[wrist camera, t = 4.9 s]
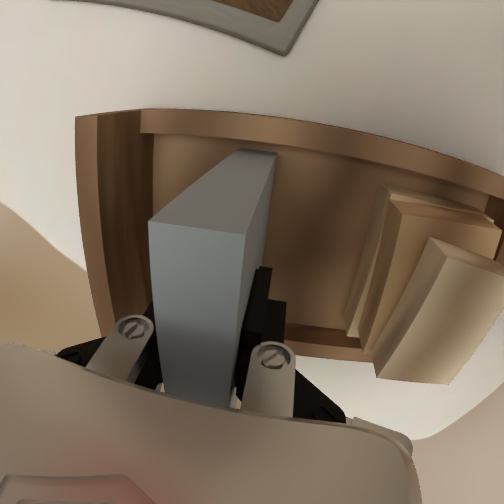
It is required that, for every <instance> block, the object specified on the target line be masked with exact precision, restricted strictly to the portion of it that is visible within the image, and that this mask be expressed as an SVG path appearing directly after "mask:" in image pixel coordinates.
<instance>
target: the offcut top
mask: <svg viewBox="0 0 504 504" xmlns="http://www.w3.org/2000/svg"><path fill="white" fill-rule="evenodd" d="M503 308H504V267H503V266H502V265H501V264H500V263H499V262H497V261H494V260H492V259H489V258H487V257H484V256H482V255H479V254H476V253H474V252H471V251H468V250H466V249H463V248H460V247H457V246H455V245H452V244H449V243H446V242H443V241H441V240H438V239H435V238H432V237H429V239H428V241H427V244H426V246H425V248H424V250H423V253H422V255H421V257H420V259H419V261H418V264H417V266H416V268H415V270H414V272H413V274H412V276H411V278H410V280H409V282H408V284H407V286H406V288H405V290H404V292H403V294H402V296H401V298H400V300H399V302H398V304H397V306H396V307H395V309H394V311H393V313H392V315H391V317H390V318H389V320H388V322H387V324H386V326H385V327H384V329H383V331H382V332H381V334H380V336H379V338H378V339H377V341H376V343H375V344H374V346H373V348H372V349H371V355H372V359H373V364H374V368H375V373H376V378H382V379H391V380H399V381H409V382H419V383H431V384H444V385H449V384H450V382H451V381H452V380H453V379H454V377H455V376H456V375H457V374H458V373H459V371H460V370H461V369H462V367H463V366H464V365H465V364H466V362H467V361H468V360H469V358H470V357H471V356H472V354H473V353H474V351H475V350H476V349H477V347H478V346H479V344H480V343H481V342H482V340H483V339H484V337H485V336H486V334H487V333H488V331H489V330H490V328H491V327H492V325H493V324H494V322H495V321H496V319H497V317H498V316H499V314H500V313H501V311H502V309H503Z"/></svg>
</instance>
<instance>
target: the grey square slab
mask: <svg viewBox="0 0 504 504" xmlns="http://www.w3.org/2000/svg"><path fill="white" fill-rule="evenodd" d="M276 158H277V152H271V151H263V150H255V149H246V148H238V149H237V150H236V151H234V152H233V153H232V154H230V155H229V156H228V157H226V158H225V159H224V160H222V161H221V162H220V163H219V164H217V165H216V166H215V167H213V168H212V169H211V170H209V171H208V172H207V173H206V174H204V175H203V176H202V177H201V178H199V179H198V180H197V181H196V182H194V183H193V184H192V185H191V186H189V187H188V188H187V189H186V190H184V191H183V192H182V193H181V194H179V195H178V196H177V197H176V198H175V199H173V200H172V201H171V202H170V203H169V204H167V205H166V206H165V207H164V208H163V209H162V210H160V211H159V212H158V213H157V214H156V215H155V216H153V217H152V218H151V219H150V220H149V221H148V232H149V253H150V269H151V283H152V295H153V306H154V316H155V325H156V334H157V342H158V350H159V357H160V364H161V371H162V378H163V384H164V389H165V393H168V394H171V395H175V396H179V397H183V398H188V399H192V400H196V401H201V402H205V403H210V404H215V405H219V406H224V407H230V408H235V406H236V401H237V396H236V388H235V378H236V369H237V360H238V351H239V342H240V334H241V328H242V323H243V319H244V315H245V311H246V307H247V303H248V299H249V295H250V291H251V287H252V283H253V278H254V274H255V270H256V269H259V267H260V266H262V263H263V255H264V248H265V241H266V233H267V226H268V219H269V211H270V204H271V196H272V189H273V181H274V173H275V166H276Z"/></svg>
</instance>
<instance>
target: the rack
mask: <svg viewBox="0 0 504 504" xmlns="http://www.w3.org/2000/svg"><path fill="white" fill-rule="evenodd" d="M238 148H246V149H255V150H263V151H271V152H277V158H276V166H275V173H274V181H273V189H272V196H271V204H270V211H269V219H268V226H267V233H266V241H265V248H264V255H263V263H262V266H265V267H271V268H273V270H272V276H271V283H270V289H269V296H268V299H272V300H279V301H285V302H287V306H286V320H285V333H284V345H286V346H288V347H289V348H290V349H291V350H292V351H293V353H294V354H295V355H300V356H308V357H317V358H326V359H336V360H347V361H358V362H372V363H373V359H372V355H371V354H363V352H362V347H361V342H360V338H359V337H349V336H347V334H346V328H345V323H344V317H343V313H344V310H345V307H346V304H347V301H348V298H349V295H350V292H351V289H352V285H353V282H354V279H355V276H356V272H357V269H358V266H359V262H360V259H361V255H362V252H363V248H364V245H365V241H366V237H367V234H368V230H369V226H370V222H371V218H372V214H373V210H374V206H375V202H376V198H377V193H378V189H379V184H380V183H385V184H389V185H393V186H398V187H402V188H406V189H410V190H414V191H418V192H422V193H426V194H430V195H434V196H438V197H441V198H445V199H449V200H452V201H456V202H459V203H463V204H466V205H469V206H473V207H476V208H478V209H479V210H480V211H482V212H483V213H485V214H486V215H487V216H489V217H490V218H491V219H493V220H494V223H493V224H495V225H496V226H497V227H498V228H500V229H501V230H502V233H501V237H500V240H499V243H498V246H497V249H496V253H495V256H494V258H493V260H494V261H497V262H499V263H500V264H501V265H502V266H503V267H504V177H503V176H501V175H499V174H497V173H494V172H492V171H489V170H487V169H484V168H481V167H479V166H476V165H473V164H471V163H468V162H465V161H462V160H460V159H457V158H454V157H451V156H448V155H445V154H442V153H439V152H435V151H432V150H429V149H426V148H422V147H419V146H416V145H412V144H409V143H405V142H401V141H398V140H394V139H390V138H386V137H382V136H378V135H374V134H369V133H365V132H361V131H356V130H351V129H347V128H342V127H337V126H331V125H326V124H320V123H315V122H309V121H303V120H296V119H289V118H282V117H275V116H267V115H258V114H248V113H238V112H226V111H212V110H194V109H135V110H124V111H115V112H106V113H98V114H91V115H84V116H77V117H75V160H76V181H77V195H78V206H79V216H80V225H81V233H82V241H83V248H84V254H85V260H86V266H87V272H88V278H89V283H90V288H91V293H92V298H93V303H94V307H95V311H96V316H97V320H98V324H99V328H100V332H101V336H102V337H106V336H107V335H108V334H109V332H110V331H111V329H112V328H113V327H114V325H115V324H116V323H117V322H118V321H119V320H120V319H121V318H123V317H126V316H129V315H141V316H142V315H143V314H144V312H145V311H146V309H147V308H148V306H149V305H150V303H151V302H152V300H153V295H152V283H151V269H150V253H149V232H148V221H149V220H150V219H151V218H152V217H153V216H155V215H156V214H157V213H158V212H159V211H160V210H162V209H163V208H164V207H165V206H166V205H167V204H169V203H170V202H171V201H172V200H173V199H175V198H176V197H177V196H178V195H179V194H181V193H182V192H183V191H184V190H186V189H187V188H188V187H189V186H191V185H192V184H193V183H194V182H196V181H197V180H198V179H199V178H201V177H202V176H203V175H204V174H206V173H207V172H208V171H209V170H211V169H212V168H213V167H215V166H216V165H217V164H219V163H220V162H221V161H222V160H224V159H225V158H226V157H228V156H229V155H230V154H232V153H233V152H234V151H236V150H237V149H238Z"/></svg>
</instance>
